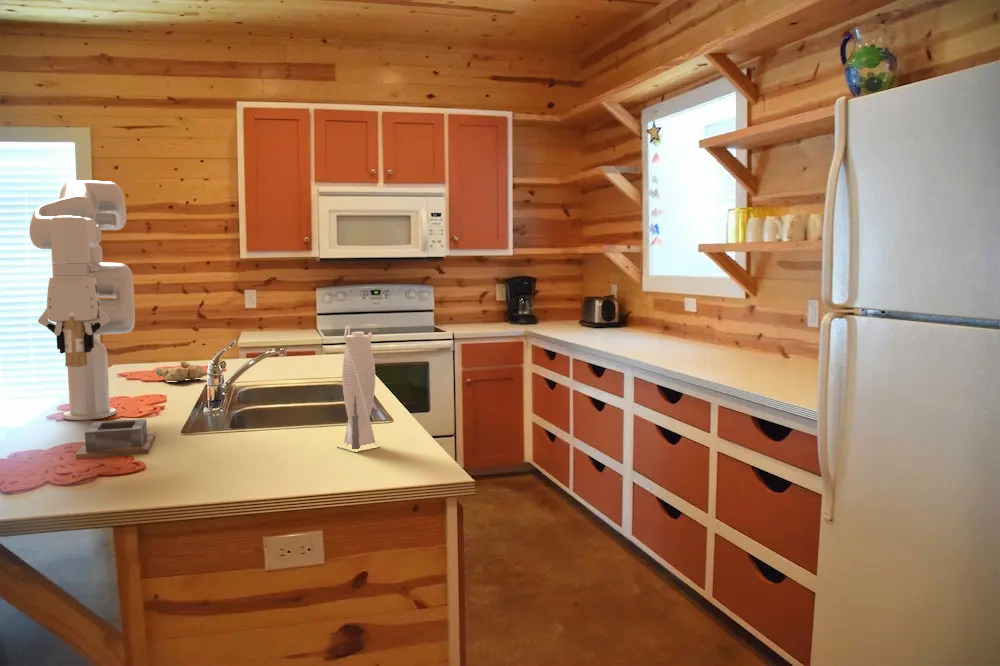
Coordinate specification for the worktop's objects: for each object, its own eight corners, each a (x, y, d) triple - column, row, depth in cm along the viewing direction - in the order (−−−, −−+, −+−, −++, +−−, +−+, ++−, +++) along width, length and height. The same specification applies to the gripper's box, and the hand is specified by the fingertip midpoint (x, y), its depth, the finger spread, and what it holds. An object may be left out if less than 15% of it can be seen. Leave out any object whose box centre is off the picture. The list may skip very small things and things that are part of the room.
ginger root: (212, 379, 257) (206, 356, 256) (164, 393, 250) (157, 371, 248) (205, 374, 271) (199, 353, 269) (159, 388, 263) (152, 366, 262)
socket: (89, 443, 175) (88, 420, 174) (155, 438, 180) (154, 416, 179) (76, 460, 160) (74, 435, 159) (147, 455, 165) (146, 431, 164)
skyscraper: (333, 446, 172) (331, 325, 169) (361, 440, 178) (360, 323, 175) (355, 453, 166) (353, 327, 163) (384, 446, 172) (382, 325, 169)
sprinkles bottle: (88, 366, 169) (85, 307, 168) (65, 367, 167) (62, 307, 166) (87, 364, 173) (84, 306, 172) (64, 365, 171) (61, 306, 169)
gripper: (116, 271, 174) (119, 349, 176) (34, 271, 169) (38, 351, 171) (110, 271, 167) (113, 352, 169) (24, 271, 162) (28, 355, 164)
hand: (75, 351), depth 170 cm, fingers closed on sprinkles bottle, 4 cm apart
